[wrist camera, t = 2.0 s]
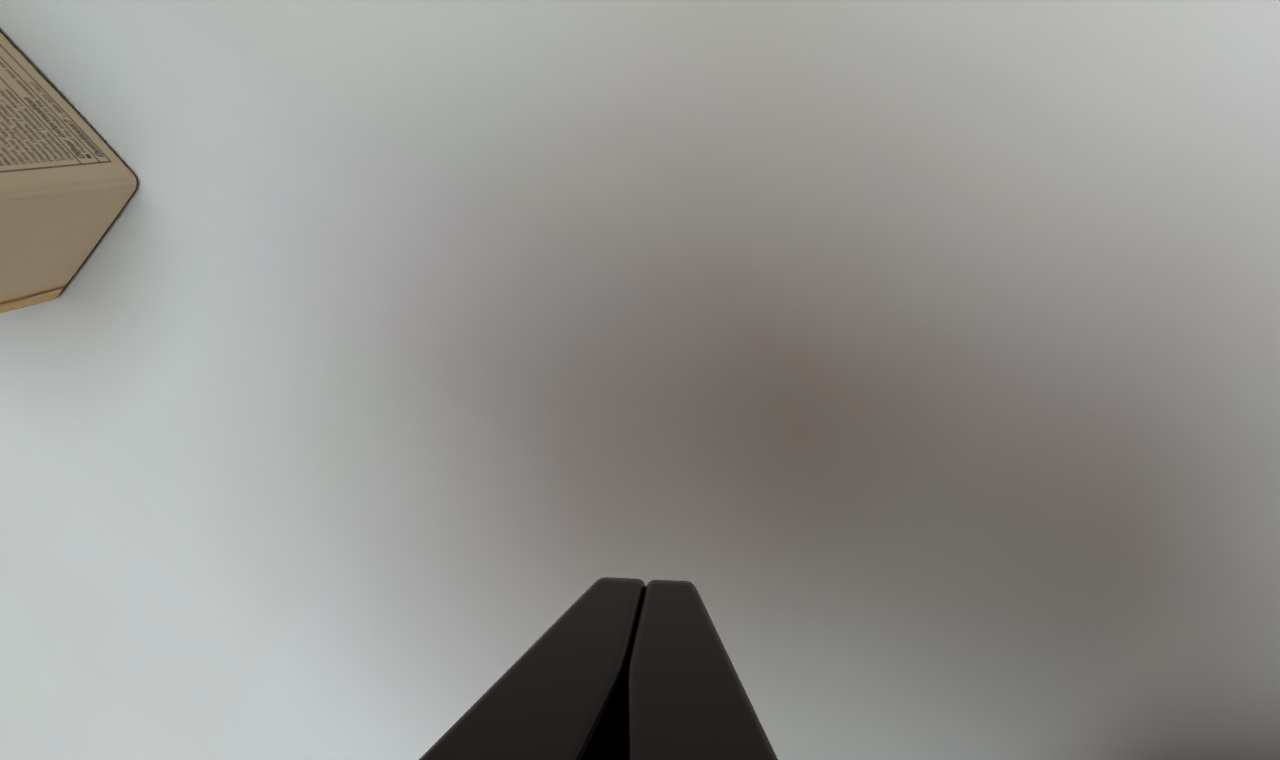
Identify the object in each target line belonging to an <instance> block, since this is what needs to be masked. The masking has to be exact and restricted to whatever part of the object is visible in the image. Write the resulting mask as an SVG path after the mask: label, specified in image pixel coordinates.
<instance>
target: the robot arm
mask: <svg viewBox="0 0 1280 760" xmlns="http://www.w3.org/2000/svg"><path fill="white" fill-rule="evenodd" d="M419 760H778V759H777V757H776V755H775V753H774V750H773V748H772V746H771V744H770V742H769V740H768V738H767V736H766V734H765V732H764V729H763V727H762V725H761V723H760V721H759V719H758V717H757V715H756V713H755V711H754V709H753V706H752V704H751V702H750V700H749V698H748V696H747V694H746V692H745V690H744V688H743V685H742V683H741V681H740V679H739V677H738V675H737V673H736V671H735V669H734V667H733V665H732V662H731V660H730V658H729V656H728V654H727V652H726V650H725V648H724V646H723V644H722V641H721V639H720V637H719V635H718V633H717V631H716V629H715V627H714V625H713V623H712V621H711V618H710V616H709V614H708V612H707V610H706V608H705V606H704V604H703V602H702V600H701V597H700V595H699V593H698V591H697V589H696V587H695V586H694V585H693V584H692V583H691V582H688V581H671V580H652V581H650V582H649V583H648V584H647V586H645V584H644V582H643V581H642V580H640V579H629V578H609V577H606V578H601V579H599V580H597V581H596V582H595V583H594V584H593V585H592V586H591V587H590V588H589V589H588V590H587V591H586V592H585V593H584V594H583V595H582V596H581V597H580V598H579V599H578V600H577V601H576V602H575V603H574V604H573V605H572V606H571V607H570V608H569V609H568V610H567V611H566V612H565V613H564V614H563V615H562V616H561V617H560V618H559V619H558V620H557V621H556V622H555V623H554V624H553V625H552V626H551V627H550V628H549V629H548V630H547V631H546V632H545V633H544V634H543V635H542V636H541V637H540V638H539V639H538V640H537V641H536V642H535V643H534V644H533V645H532V646H531V647H530V648H529V649H528V650H527V651H526V653H525V654H524V655H523V656H522V657H521V658H520V659H519V660H518V661H517V662H516V663H515V664H514V665H513V666H512V667H511V668H510V669H509V670H508V671H507V672H506V673H505V674H504V675H503V676H502V677H501V678H500V679H499V680H498V681H497V682H496V683H495V684H494V685H493V686H492V687H491V688H490V689H489V690H488V691H487V692H486V693H485V694H484V695H483V696H482V697H481V698H480V699H479V700H478V701H477V702H476V703H475V704H474V705H473V706H472V707H471V708H470V709H469V710H468V711H467V712H466V713H465V714H464V715H463V716H462V717H461V718H460V719H459V720H458V721H457V722H456V723H455V724H454V725H453V726H452V727H451V728H450V729H449V730H448V731H447V732H446V733H445V734H444V735H443V736H442V737H441V738H440V739H439V740H438V741H437V742H436V743H435V744H434V745H433V746H432V747H431V748H430V749H429V750H428V751H427V752H426V753H425V754H424V755H423V756H422V757H421V758H420V759H419Z"/></svg>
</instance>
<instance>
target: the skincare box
mask: <svg viewBox="0 0 1280 760" xmlns="http://www.w3.org/2000/svg"><path fill="white" fill-rule="evenodd" d="M136 185H137V181H136V178H135V176H134V175H133V173H132V172H131V171H130V170H129V169H128V168H127V167H126V166H125V165H124V164H123V163H122V161H121V160H120V159H119V158H118V157H117V156H116V155H115V154H114V153H113V152H112V151H111V150H110V148H109V147H108V146H107V145H106V144H105V143H104V142H103V141H102V140H101V138H100V137H99V136H98V135H97V134H96V133H95V132H94V131H93V130H92V129H91V128H90V127H89V125H88V124H87V123H86V122H85V121H84V120H83V119H82V118H81V117H80V116H79V115H78V114H77V113H76V112H75V110H74V109H73V108H72V107H71V106H70V105H69V104H68V103H67V102H66V101H65V100H64V99H63V98H62V97H61V96H60V95H59V94H58V93H57V92H56V91H55V90H54V89H53V88H52V87H51V86H50V85H49V84H48V83H47V81H46V80H45V79H44V78H43V77H42V76H41V75H40V74H39V73H38V72H37V71H36V70H35V69H34V68H33V66H32V65H31V64H30V63H29V62H28V61H27V60H26V59H25V58H24V57H23V56H22V55H21V53H20V52H19V51H17V50H16V49H15V48H14V47H13V46H12V45H11V43H10V42H9V41H8V40H7V39H6V38H5V37H4V36H3V35H2V34H1V33H0V313H2V312H6V311H10V310H14V309H18V308H22V307H26V306H30V305H34V304H38V303H42V302H46V301H50V300H52V299H55V298H56V297H57V296H58V295H59V294H60V292H61V291H62V289H63V288H64V287H65V286H66V284H67V283H68V282H69V280H70V279H71V278H72V276H73V275H74V274H75V273H76V271H77V270H78V268H79V267H80V266H81V264H82V263H83V262H84V260H85V259H86V258H87V256H88V255H89V253H90V252H91V251H92V249H93V248H94V247H95V245H96V244H97V242H98V241H99V240H100V238H101V237H102V236H103V234H104V233H105V232H106V230H107V229H108V227H109V226H110V225H111V223H112V222H113V221H114V219H115V218H116V216H117V215H118V214H119V212H120V211H121V209H122V208H123V207H124V205H125V204H126V202H127V201H128V200H129V198H130V197H131V195H132V194H133V193H134V191H135V189H136Z"/></svg>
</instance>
